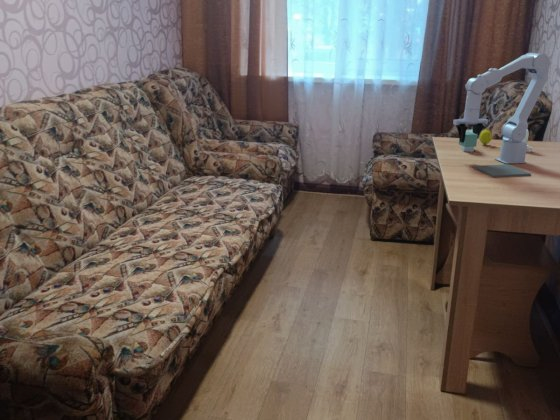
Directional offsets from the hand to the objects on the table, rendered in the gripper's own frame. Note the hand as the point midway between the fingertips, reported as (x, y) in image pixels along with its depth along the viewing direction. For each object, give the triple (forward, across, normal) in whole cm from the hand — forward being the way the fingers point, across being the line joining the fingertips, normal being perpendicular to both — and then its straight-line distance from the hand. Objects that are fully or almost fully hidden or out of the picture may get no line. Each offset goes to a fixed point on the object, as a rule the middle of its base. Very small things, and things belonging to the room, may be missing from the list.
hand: (467, 141), depth 220 cm
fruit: (+9, -27, -28) cm, 39 cm away
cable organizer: (+9, -37, -16) cm, 41 cm away
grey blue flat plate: (+8, -6, +16) cm, 19 cm away
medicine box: (+9, -13, -20) cm, 25 cm away
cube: (+2, 0, 0) cm, 2 cm away
